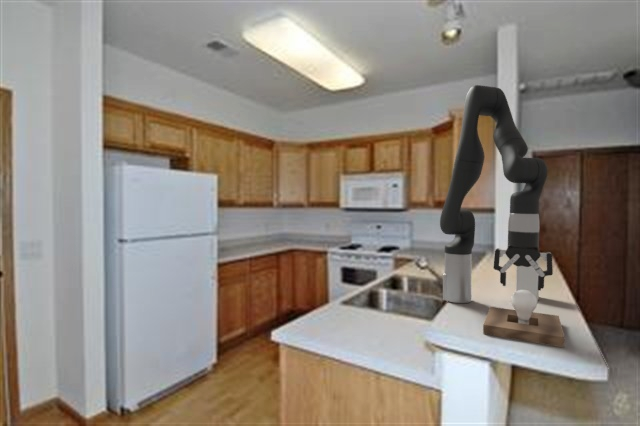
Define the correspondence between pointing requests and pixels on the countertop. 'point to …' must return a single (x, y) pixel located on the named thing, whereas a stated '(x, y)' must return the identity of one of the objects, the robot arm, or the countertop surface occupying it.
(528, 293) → the lightbulb
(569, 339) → the countertop surface
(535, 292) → the milk carton
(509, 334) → the holder block
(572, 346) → the countertop surface
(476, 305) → the countertop surface
